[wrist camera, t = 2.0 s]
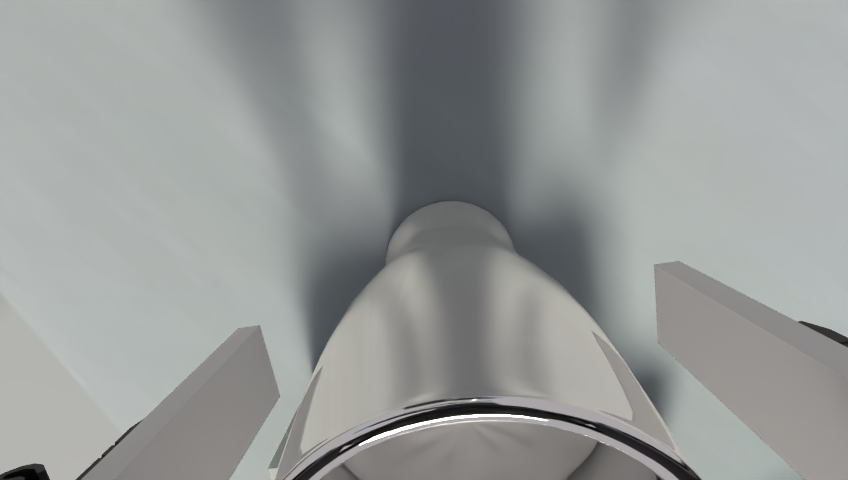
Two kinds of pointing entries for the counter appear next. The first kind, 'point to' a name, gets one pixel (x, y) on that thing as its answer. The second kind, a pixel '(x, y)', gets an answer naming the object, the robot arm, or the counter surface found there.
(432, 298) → the beer glass
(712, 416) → the counter surface
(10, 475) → the robot arm
